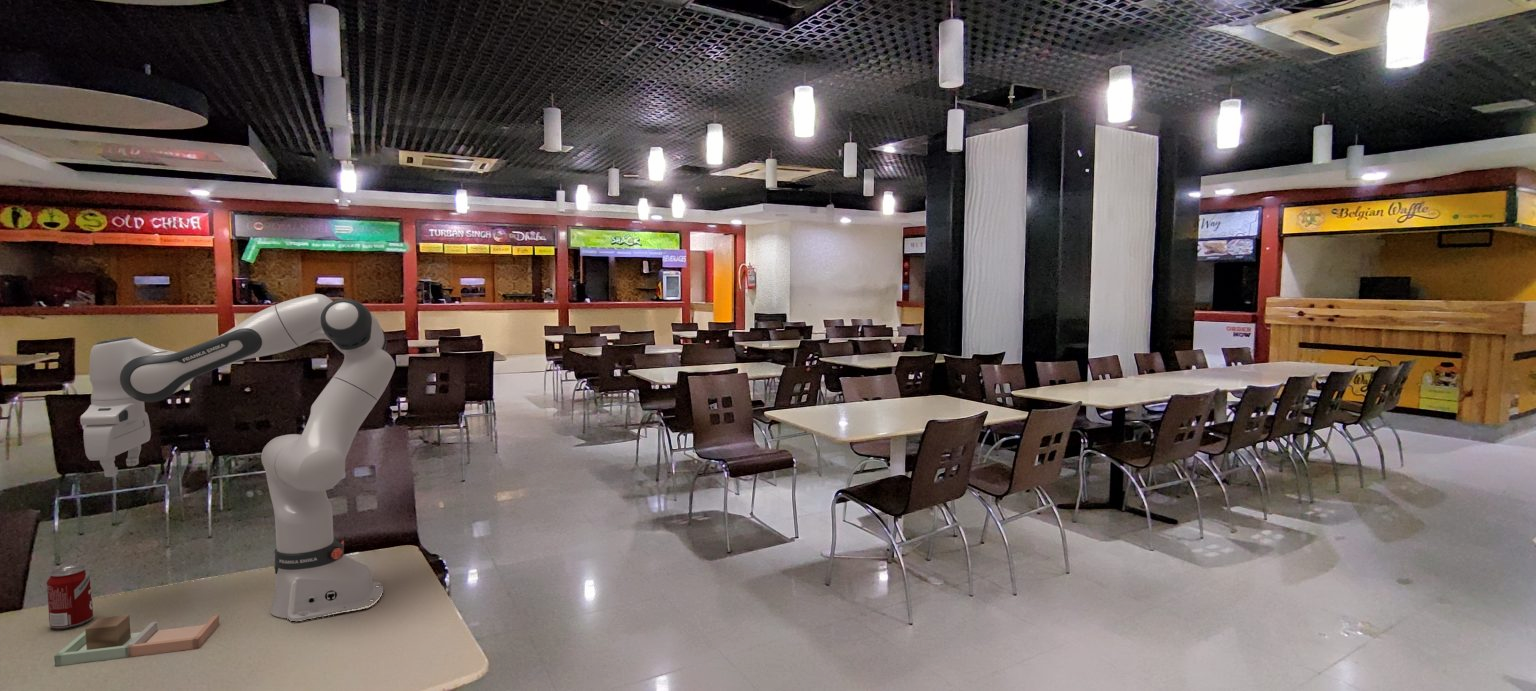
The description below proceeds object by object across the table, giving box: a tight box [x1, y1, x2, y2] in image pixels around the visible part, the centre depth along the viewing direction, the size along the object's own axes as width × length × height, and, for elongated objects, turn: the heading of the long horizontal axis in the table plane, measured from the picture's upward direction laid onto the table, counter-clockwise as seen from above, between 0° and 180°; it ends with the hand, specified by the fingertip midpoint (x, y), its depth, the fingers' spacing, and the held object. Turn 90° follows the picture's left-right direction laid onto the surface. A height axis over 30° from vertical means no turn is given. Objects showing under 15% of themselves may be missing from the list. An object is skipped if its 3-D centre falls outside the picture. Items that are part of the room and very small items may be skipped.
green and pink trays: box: [53, 614, 220, 667], centre depth 148 cm, size 23×11×2 cm, turn 109°
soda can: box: [46, 564, 94, 630], centre depth 155 cm, size 7×7×12 cm
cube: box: [84, 614, 131, 650], centre depth 146 cm, size 5×5×5 cm
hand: (122, 470), depth 163 cm, fingers open, 8 cm apart
